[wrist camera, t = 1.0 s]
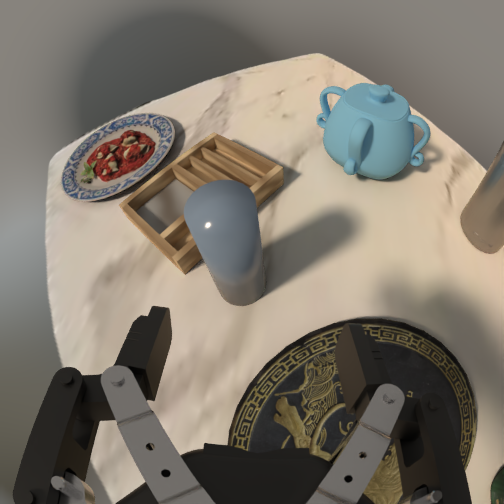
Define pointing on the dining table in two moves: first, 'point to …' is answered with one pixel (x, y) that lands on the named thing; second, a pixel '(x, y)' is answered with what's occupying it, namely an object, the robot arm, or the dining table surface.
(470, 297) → the dining table surface
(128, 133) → the ceramic plate
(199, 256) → the wooden compartment tray
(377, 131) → the decorative pot
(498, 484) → the coffee jar
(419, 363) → the decorative plate
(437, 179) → the dining table surface
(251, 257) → the pale blue cylinder
